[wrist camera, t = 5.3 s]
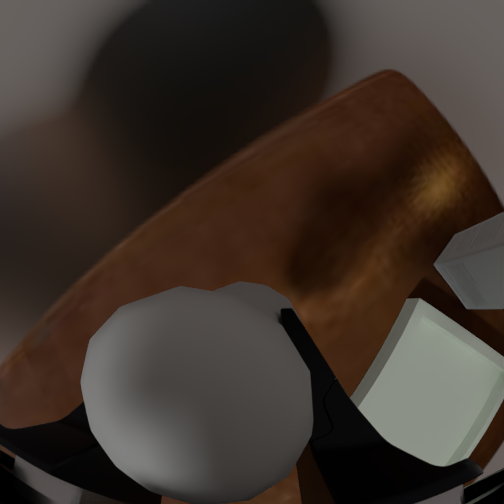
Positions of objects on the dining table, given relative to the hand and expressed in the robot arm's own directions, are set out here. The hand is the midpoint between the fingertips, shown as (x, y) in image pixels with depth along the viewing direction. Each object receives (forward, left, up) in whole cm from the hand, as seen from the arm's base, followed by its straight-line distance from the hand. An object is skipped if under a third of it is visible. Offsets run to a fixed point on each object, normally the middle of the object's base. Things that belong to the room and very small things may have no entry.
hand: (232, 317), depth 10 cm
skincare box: (-2, -19, -12) cm, 23 cm away
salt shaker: (-1, 0, -7) cm, 7 cm away
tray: (-14, -13, -12) cm, 22 cm away
